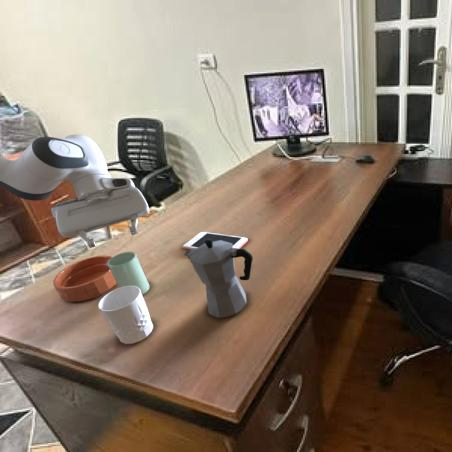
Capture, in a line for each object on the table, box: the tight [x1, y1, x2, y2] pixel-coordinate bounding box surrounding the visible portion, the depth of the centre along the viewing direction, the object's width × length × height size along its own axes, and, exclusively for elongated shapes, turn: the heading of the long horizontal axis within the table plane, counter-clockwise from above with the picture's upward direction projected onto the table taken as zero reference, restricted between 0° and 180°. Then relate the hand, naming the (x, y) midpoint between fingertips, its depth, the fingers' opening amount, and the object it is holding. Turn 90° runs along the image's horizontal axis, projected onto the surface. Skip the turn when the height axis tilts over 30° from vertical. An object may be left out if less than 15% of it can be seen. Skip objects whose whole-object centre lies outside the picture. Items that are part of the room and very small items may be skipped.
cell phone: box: [182, 231, 249, 250], centre depth 107 cm, size 9×18×1 cm, turn 69°
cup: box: [107, 251, 151, 296], centre depth 88 cm, size 6×6×10 cm
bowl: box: [52, 254, 117, 303], centre depth 93 cm, size 14×14×5 cm
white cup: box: [97, 286, 154, 345], centre depth 75 cm, size 8×8×10 cm
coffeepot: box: [183, 239, 254, 319], centre depth 78 cm, size 15×9×18 cm, turn 83°
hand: (114, 240), depth 88 cm, fingers open, 8 cm apart
